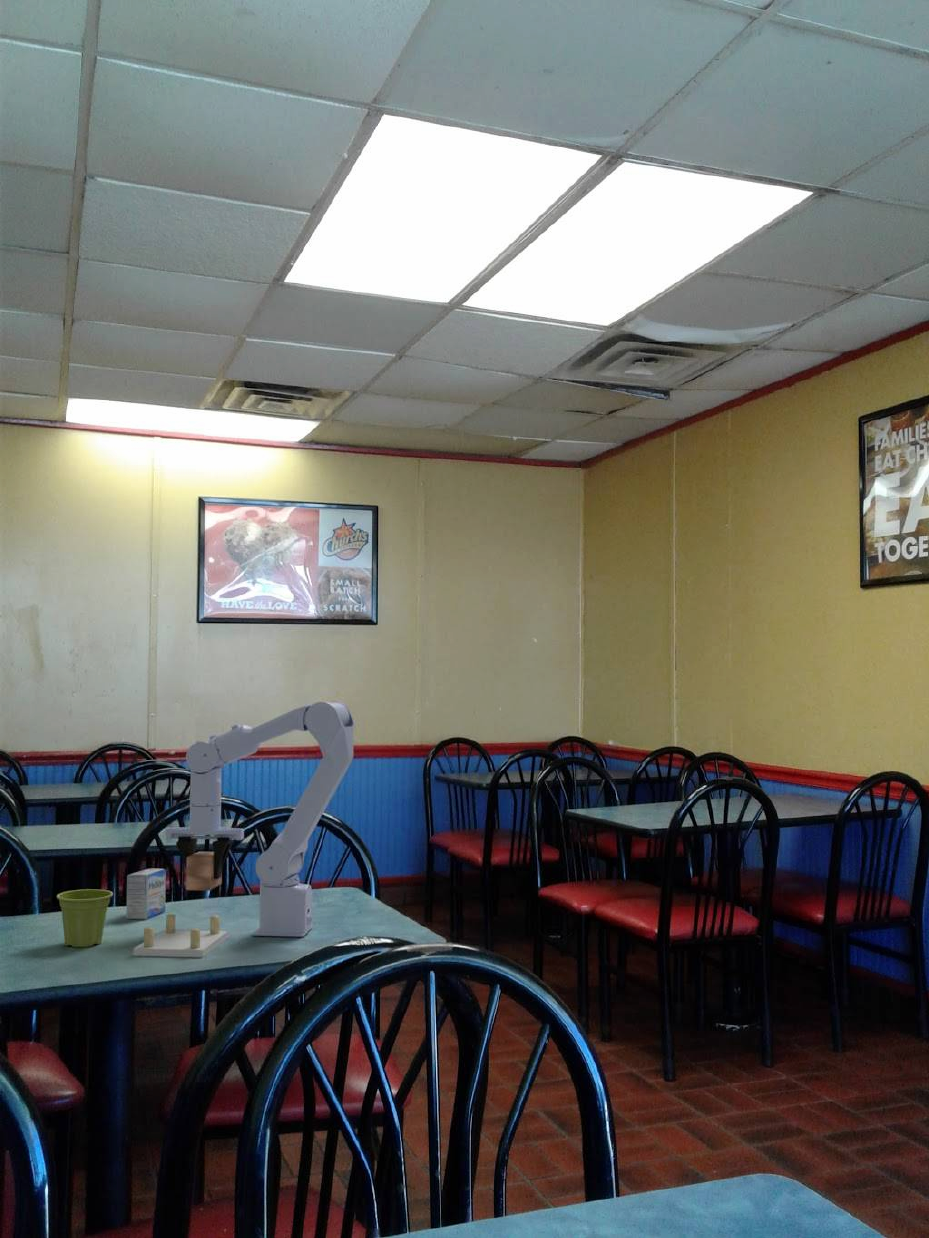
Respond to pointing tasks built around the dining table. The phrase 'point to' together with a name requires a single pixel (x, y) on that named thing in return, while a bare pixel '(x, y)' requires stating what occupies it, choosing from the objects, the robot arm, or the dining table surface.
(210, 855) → the board block
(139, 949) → the standoff plate
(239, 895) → the dining table surface
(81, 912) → the plant pot
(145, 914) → the medicine box
